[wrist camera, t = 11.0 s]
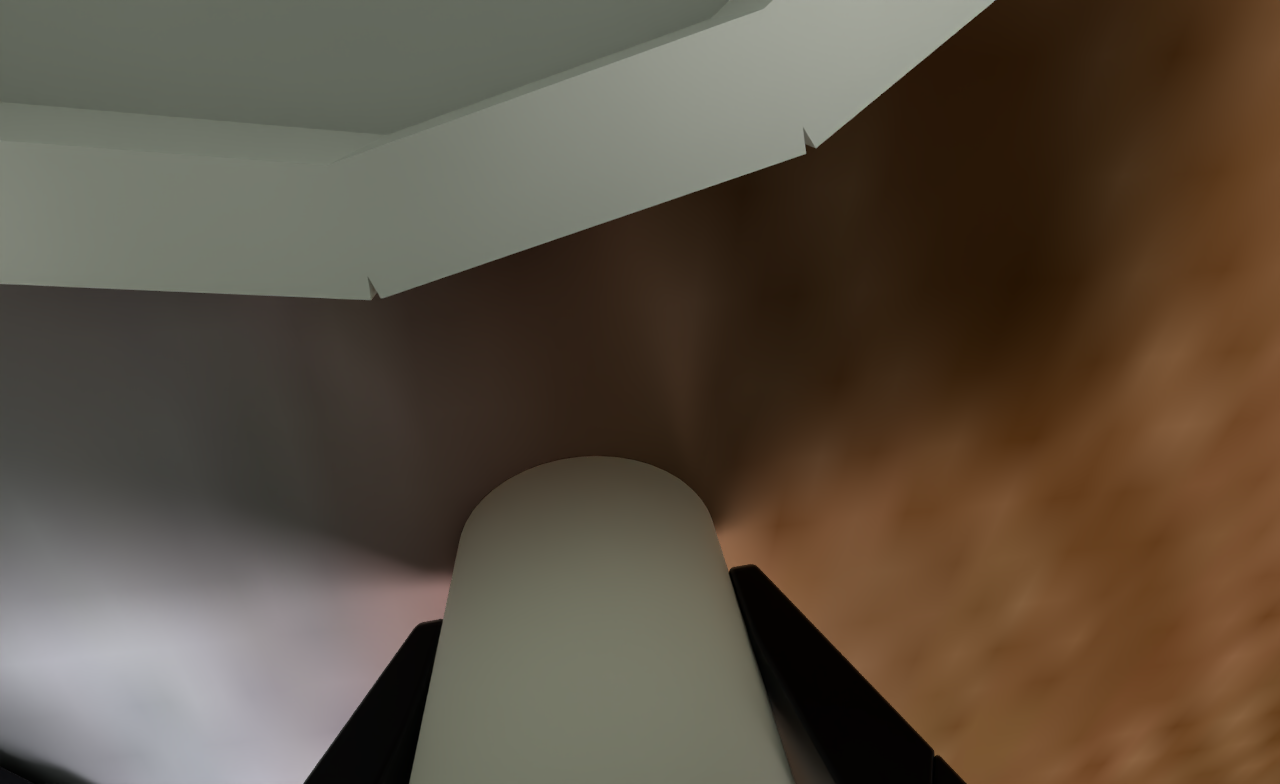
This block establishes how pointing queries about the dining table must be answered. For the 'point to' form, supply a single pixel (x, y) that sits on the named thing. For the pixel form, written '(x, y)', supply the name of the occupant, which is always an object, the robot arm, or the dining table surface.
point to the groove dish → (401, 127)
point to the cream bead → (595, 641)
